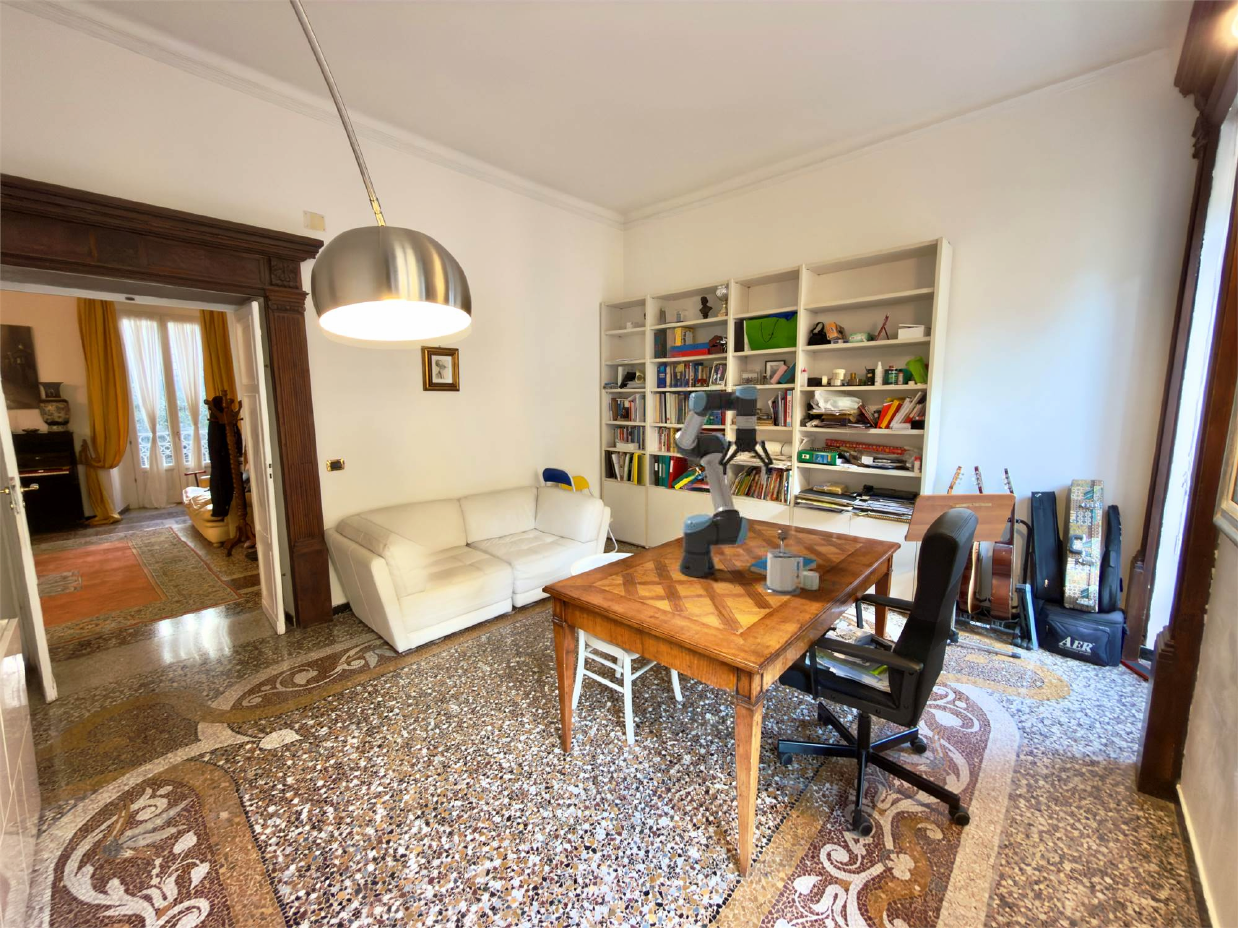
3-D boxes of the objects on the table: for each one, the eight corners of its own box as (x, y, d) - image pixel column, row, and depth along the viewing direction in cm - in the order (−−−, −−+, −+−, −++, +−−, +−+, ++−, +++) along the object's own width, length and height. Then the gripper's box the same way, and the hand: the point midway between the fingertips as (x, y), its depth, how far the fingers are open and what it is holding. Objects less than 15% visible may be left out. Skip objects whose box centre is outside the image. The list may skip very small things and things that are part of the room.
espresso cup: (799, 585, 185) (799, 570, 184) (814, 585, 185) (815, 570, 184) (805, 593, 178) (806, 578, 177) (822, 593, 177) (822, 577, 177)
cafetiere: (763, 582, 187) (764, 548, 185) (796, 582, 186) (798, 547, 184) (771, 593, 176) (772, 557, 174) (806, 593, 176) (807, 556, 174)
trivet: (757, 582, 189) (757, 580, 188) (793, 582, 188) (794, 580, 188) (767, 597, 175) (767, 595, 175) (806, 597, 174) (806, 595, 174)
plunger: (775, 569, 182) (776, 529, 180) (785, 569, 182) (786, 528, 180) (778, 572, 179) (779, 531, 176) (788, 572, 178) (789, 531, 176)
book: (817, 559, 204) (787, 574, 187) (816, 569, 204) (787, 584, 187) (780, 550, 216) (749, 563, 199) (779, 559, 217) (748, 573, 200)
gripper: (714, 428, 176) (713, 485, 179) (783, 427, 175) (781, 485, 178) (711, 427, 184) (710, 482, 186) (777, 426, 183) (775, 481, 185)
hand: (745, 483), depth 182 cm, fingers open, 13 cm apart
